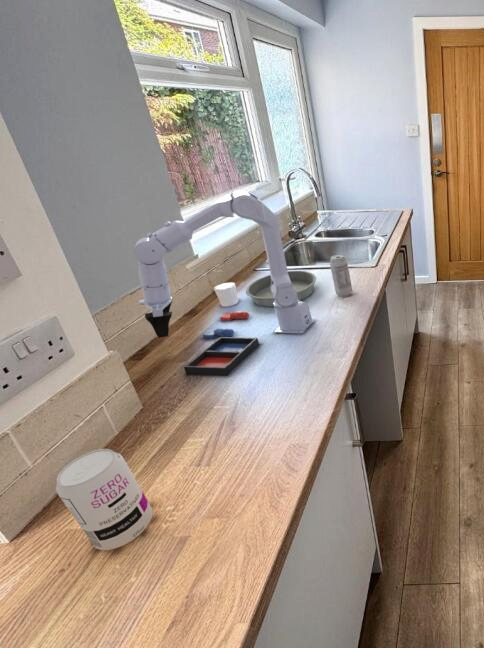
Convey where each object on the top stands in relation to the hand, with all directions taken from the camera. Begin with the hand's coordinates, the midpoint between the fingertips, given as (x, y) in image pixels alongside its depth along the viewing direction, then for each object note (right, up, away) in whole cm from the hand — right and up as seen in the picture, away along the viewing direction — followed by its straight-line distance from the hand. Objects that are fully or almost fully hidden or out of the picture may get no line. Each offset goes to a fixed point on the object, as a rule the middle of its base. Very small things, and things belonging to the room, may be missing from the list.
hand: (163, 330), depth 110 cm
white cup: (-4, +6, +38) cm, 39 cm away
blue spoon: (+5, -3, +17) cm, 18 cm away
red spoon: (+5, +1, +27) cm, 27 cm away
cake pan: (+14, +9, +43) cm, 46 cm away
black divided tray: (+14, -9, +5) cm, 17 cm away
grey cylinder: (+38, +9, +40) cm, 56 cm away
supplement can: (+24, -30, -41) cm, 56 cm away
